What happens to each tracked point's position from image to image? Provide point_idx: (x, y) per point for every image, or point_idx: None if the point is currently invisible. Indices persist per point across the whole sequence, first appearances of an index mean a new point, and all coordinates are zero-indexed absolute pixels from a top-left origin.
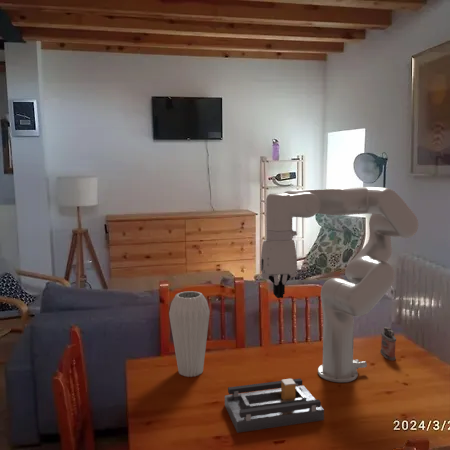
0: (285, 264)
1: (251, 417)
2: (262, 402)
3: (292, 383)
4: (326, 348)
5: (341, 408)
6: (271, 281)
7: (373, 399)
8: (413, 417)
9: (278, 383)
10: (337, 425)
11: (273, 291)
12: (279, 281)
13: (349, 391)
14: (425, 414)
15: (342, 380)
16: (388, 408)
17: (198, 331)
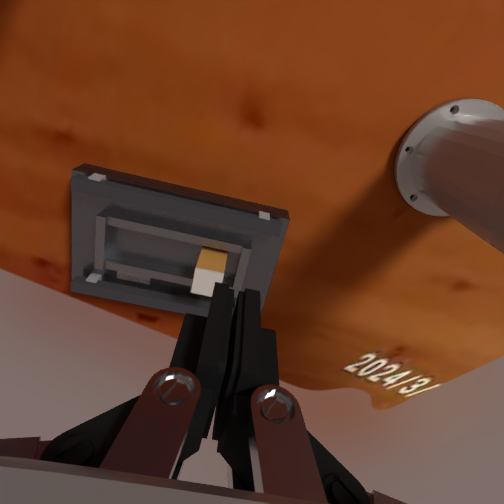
0: None
1: (105, 279)
2: (152, 241)
3: (210, 295)
4: (451, 183)
5: (320, 289)
6: (125, 412)
7: (405, 292)
8: (406, 360)
9: (212, 221)
10: (270, 325)
11: (183, 323)
12: (231, 422)
13: (393, 245)
14: (432, 363)
15: (418, 210)
16: (398, 326)
17: None
